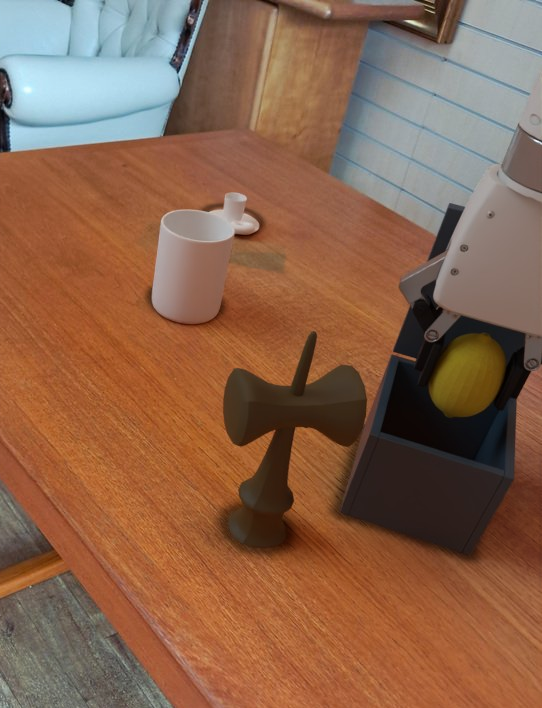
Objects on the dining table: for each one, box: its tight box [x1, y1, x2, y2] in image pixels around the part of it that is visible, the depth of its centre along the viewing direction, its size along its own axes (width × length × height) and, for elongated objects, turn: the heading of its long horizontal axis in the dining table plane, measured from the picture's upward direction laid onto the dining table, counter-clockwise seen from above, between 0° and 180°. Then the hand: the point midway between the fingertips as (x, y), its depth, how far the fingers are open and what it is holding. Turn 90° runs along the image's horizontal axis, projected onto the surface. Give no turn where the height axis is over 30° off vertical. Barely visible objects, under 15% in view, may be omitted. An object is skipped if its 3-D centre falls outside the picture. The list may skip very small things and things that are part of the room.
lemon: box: [429, 333, 506, 418], centre depth 64 cm, size 6×6×8 cm
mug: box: [151, 208, 236, 325], centre depth 92 cm, size 12×8×10 cm
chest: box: [339, 353, 518, 557], centre depth 71 cm, size 14×12×10 cm
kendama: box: [222, 330, 368, 549], centre depth 61 cm, size 6×10×20 cm, turn 101°
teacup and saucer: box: [209, 191, 260, 236], centre depth 112 cm, size 9×8×4 cm
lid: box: [392, 202, 525, 367], centre depth 68 cm, size 14×12×5 cm
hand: (461, 387), depth 65 cm, fingers closed on lemon, 5 cm apart
